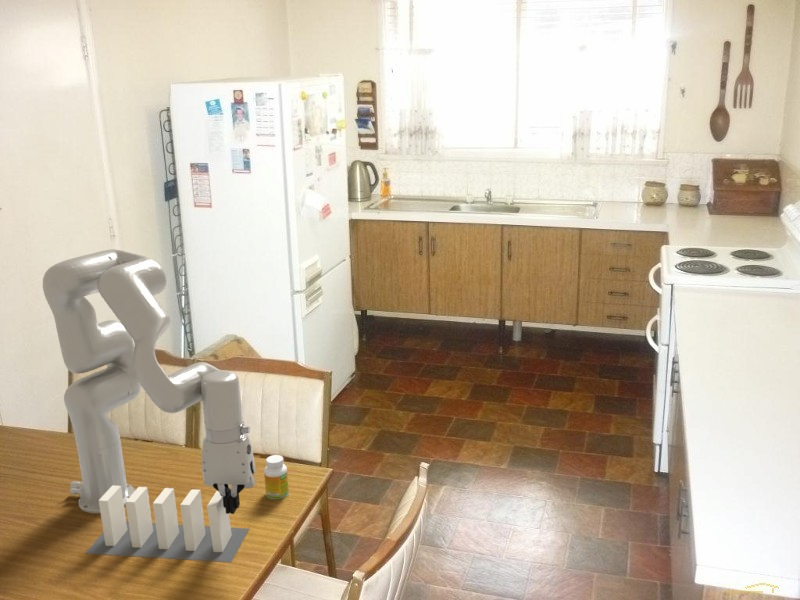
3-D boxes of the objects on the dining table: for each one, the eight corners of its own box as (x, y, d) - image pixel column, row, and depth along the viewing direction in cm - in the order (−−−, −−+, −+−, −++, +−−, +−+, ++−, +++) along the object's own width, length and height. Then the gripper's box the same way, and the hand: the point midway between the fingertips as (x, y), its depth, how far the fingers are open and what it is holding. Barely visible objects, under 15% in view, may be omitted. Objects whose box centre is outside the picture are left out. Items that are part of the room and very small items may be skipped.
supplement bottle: (284, 502, 179) (281, 465, 176) (262, 500, 180) (259, 463, 177) (292, 490, 184) (289, 454, 181) (270, 488, 185) (268, 452, 182)
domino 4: (185, 550, 161) (180, 504, 158) (196, 533, 166) (191, 489, 163) (194, 550, 161) (189, 505, 157) (205, 534, 166) (200, 489, 163)
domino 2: (132, 547, 162) (125, 501, 159) (144, 530, 168) (138, 486, 165) (141, 547, 162) (134, 502, 159) (153, 531, 168) (147, 487, 165)
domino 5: (213, 552, 160) (206, 505, 157) (222, 535, 166) (216, 490, 163) (222, 552, 160) (216, 506, 157) (231, 535, 165) (225, 490, 162)
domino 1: (105, 545, 163) (98, 500, 160) (118, 529, 169) (112, 485, 166) (114, 546, 163) (107, 500, 160) (127, 529, 168) (121, 485, 165)
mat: (85, 555, 161) (85, 553, 161) (113, 523, 172) (112, 521, 172) (231, 564, 157) (231, 562, 157) (249, 530, 168) (249, 528, 168)
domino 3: (158, 548, 162) (152, 503, 158) (170, 532, 167) (164, 488, 164) (167, 549, 161) (161, 503, 158) (179, 532, 167) (173, 488, 164)
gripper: (265, 424, 157) (271, 502, 163) (196, 421, 159) (204, 498, 164) (254, 441, 150) (261, 522, 156) (182, 438, 152) (191, 518, 157)
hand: (232, 510), depth 160 cm, fingers closed
